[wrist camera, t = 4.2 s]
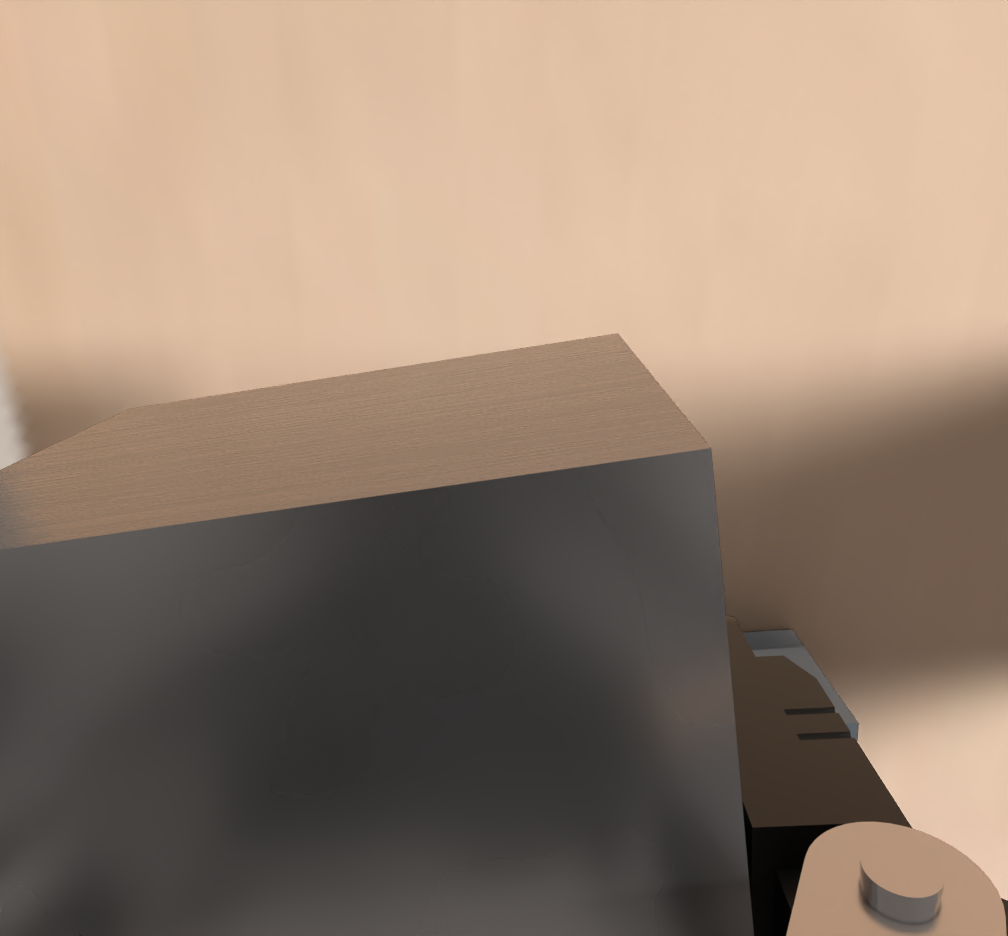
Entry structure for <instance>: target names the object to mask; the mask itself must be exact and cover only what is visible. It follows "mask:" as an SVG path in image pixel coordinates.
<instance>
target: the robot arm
mask: <svg viewBox="0 0 1008 936" xmlns="http://www.w3.org/2000/svg"><path fill="white" fill-rule="evenodd" d="M726 623H727V634H728V646H729V657H730V668H731V680H732V691H733V703H734V714H735V725H736V737H737V748H738V760H739V771H740V782H741V794H742V805H743V817H744V828H745V840H746V851H747V862H748V874H749V885H750V897H751V908H752V919H753V931H754V936H1008V901H1007V900H1004V899H1002V898H1001V897H1000V895H999V893H998V891H997V889H996V888H995V886H994V885H993V883H992V882H991V880H990V879H989V877H988V876H987V875H986V874H985V873H984V872H983V871H982V870H981V869H980V867H979V866H977V865H976V864H975V863H974V862H973V861H972V860H970V859H969V858H968V857H967V856H966V855H964V854H963V853H961V852H960V851H958V850H957V849H955V848H954V847H953V846H951V845H949V844H947V843H945V842H943V841H942V840H940V839H938V838H936V837H933V836H931V835H929V834H926V833H924V832H922V831H918V830H915V829H912V827H911V826H910V824H909V822H908V821H907V819H906V818H905V816H904V815H903V813H902V812H901V810H900V808H899V807H898V805H897V804H896V802H895V801H894V799H893V797H892V796H891V794H890V793H889V791H888V790H887V788H886V786H885V785H884V783H883V782H882V780H881V779H880V777H879V776H878V774H877V772H876V771H875V769H874V768H873V766H872V765H871V763H870V761H869V760H868V758H867V757H866V755H865V754H864V752H863V750H862V749H861V747H860V746H859V744H858V743H857V741H856V739H855V738H851V734H850V730H849V729H848V727H847V725H846V724H845V722H844V721H843V719H842V718H841V716H840V714H839V713H836V712H835V707H834V705H833V703H832V702H831V700H830V699H829V697H828V696H827V694H826V693H825V691H824V689H823V688H822V686H821V685H820V683H819V682H818V680H817V678H815V677H814V676H812V675H811V674H809V673H808V672H807V671H805V670H804V669H802V668H801V667H799V666H798V665H796V664H795V663H794V662H792V661H791V660H789V659H788V658H786V657H785V656H783V655H780V656H760V657H755V655H754V653H753V651H752V649H751V647H750V645H749V644H748V642H747V640H746V638H745V636H744V634H743V632H742V630H741V629H740V627H739V625H738V623H737V621H736V620H735V618H734V617H726Z"/></svg>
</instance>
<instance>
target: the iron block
mask: <svg viewBox="0 0 1008 936" xmlns="http://www.w3.org/2000/svg"><path fill="white" fill-rule="evenodd" d="M0 936H754V931H753V919H752V908H751V897H750V885H749V874H748V862H747V851H746V840H745V828H744V817H743V805H742V794H741V782H740V771H739V760H738V748H737V737H736V725H735V714H734V703H733V691H732V680H731V668H730V657H729V646H728V634H727V623H726V611H725V600H724V589H723V577H722V566H721V554H720V543H719V531H718V520H717V509H716V497H715V486H714V474H713V463H712V452H711V447H710V446H709V445H708V444H707V442H706V441H705V440H704V439H703V437H702V436H701V435H700V434H699V432H698V431H697V430H696V429H695V428H694V426H693V425H692V424H691V423H690V421H689V420H688V419H687V418H686V416H685V415H684V414H683V413H682V412H681V410H680V409H679V408H678V407H677V405H676V404H675V403H674V402H673V401H672V399H671V398H670V397H669V396H668V394H667V393H666V392H665V391H664V389H663V388H662V387H661V386H660V385H659V383H658V382H657V381H656V380H655V378H654V377H653V376H652V375H651V373H650V372H649V371H648V370H647V369H646V367H645V366H644V365H643V364H642V362H641V361H640V360H639V359H638V358H637V356H636V355H635V354H634V353H633V351H632V350H631V349H630V348H629V346H628V345H627V344H626V343H625V342H624V340H623V339H622V338H621V337H620V335H619V334H618V333H617V334H611V335H604V336H598V337H592V338H585V339H579V340H572V341H566V342H559V343H553V344H546V345H540V346H533V347H527V348H520V349H514V350H507V351H501V352H494V353H488V354H481V355H475V356H468V357H462V358H455V359H449V360H442V361H436V362H430V363H423V364H417V365H410V366H404V367H397V368H391V369H384V370H378V371H371V372H365V373H358V374H352V375H345V376H339V377H332V378H326V379H319V380H313V381H306V382H300V383H293V384H287V385H281V386H274V387H268V388H261V389H255V390H248V391H242V392H235V393H229V394H222V395H216V396H209V397H203V398H196V399H190V400H183V401H177V402H170V403H164V404H157V405H151V406H144V407H138V408H131V409H128V410H126V411H124V412H122V413H120V414H117V415H115V416H113V417H111V418H109V419H107V420H105V421H103V422H101V423H98V424H96V425H94V426H92V427H90V428H88V429H86V430H84V431H82V432H79V433H77V434H75V435H73V436H71V437H69V438H67V439H65V440H63V441H60V442H58V443H56V444H54V445H52V446H50V447H48V448H46V449H44V450H41V451H39V452H37V453H35V454H33V455H31V456H29V457H27V458H25V459H22V460H20V461H18V462H16V463H14V464H12V465H10V466H8V467H6V468H3V469H1V470H0Z"/></svg>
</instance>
